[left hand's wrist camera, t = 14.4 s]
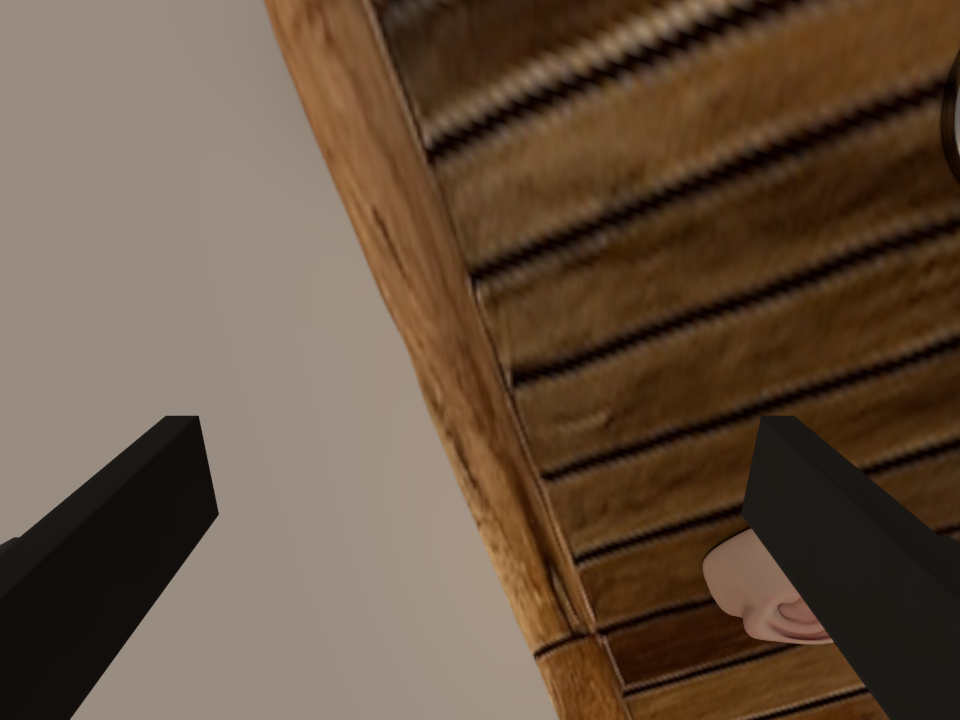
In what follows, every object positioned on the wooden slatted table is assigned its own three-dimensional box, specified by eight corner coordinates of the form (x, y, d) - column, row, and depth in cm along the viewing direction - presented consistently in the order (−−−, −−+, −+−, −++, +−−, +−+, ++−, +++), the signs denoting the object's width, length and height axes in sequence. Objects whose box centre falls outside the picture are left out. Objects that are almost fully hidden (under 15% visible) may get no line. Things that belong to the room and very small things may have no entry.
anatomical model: (695, 614, 43) (810, 520, 40) (678, 577, 47) (782, 488, 43) (804, 689, 46) (919, 607, 43) (780, 649, 49) (884, 570, 46)
